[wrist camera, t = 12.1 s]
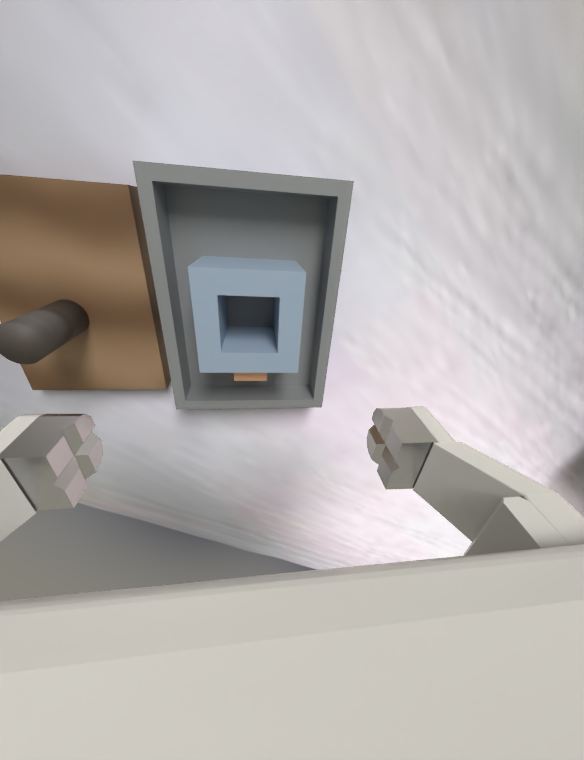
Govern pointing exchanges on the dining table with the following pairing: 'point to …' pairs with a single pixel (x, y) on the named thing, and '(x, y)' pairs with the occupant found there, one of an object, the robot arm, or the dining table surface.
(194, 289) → the collar
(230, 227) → the tray
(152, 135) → the dining table surface
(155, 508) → the dining table surface
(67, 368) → the board
